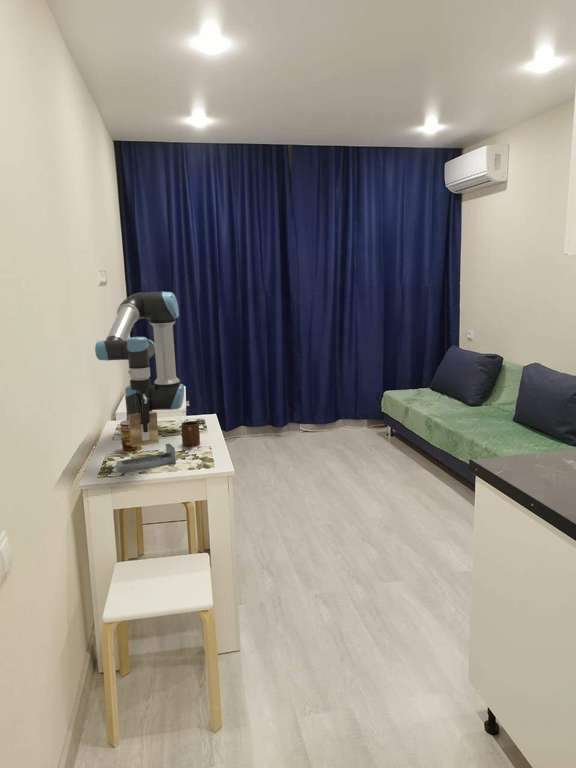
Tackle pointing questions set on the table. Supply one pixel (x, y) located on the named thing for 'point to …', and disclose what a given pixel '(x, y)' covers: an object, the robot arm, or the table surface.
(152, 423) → the door panel
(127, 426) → the canned food
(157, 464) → the track
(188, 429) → the mug
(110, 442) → the table surface
